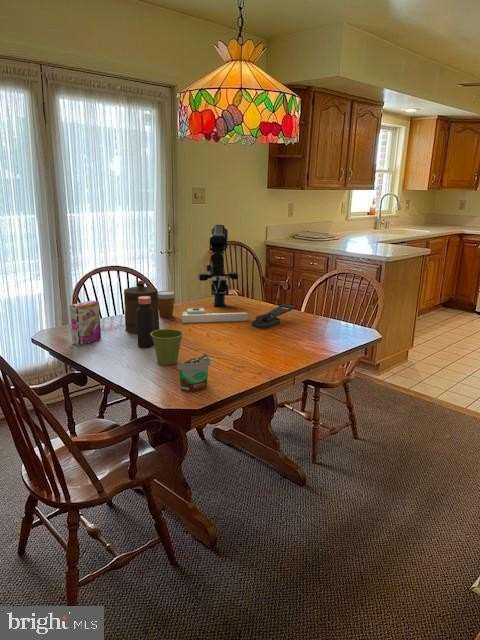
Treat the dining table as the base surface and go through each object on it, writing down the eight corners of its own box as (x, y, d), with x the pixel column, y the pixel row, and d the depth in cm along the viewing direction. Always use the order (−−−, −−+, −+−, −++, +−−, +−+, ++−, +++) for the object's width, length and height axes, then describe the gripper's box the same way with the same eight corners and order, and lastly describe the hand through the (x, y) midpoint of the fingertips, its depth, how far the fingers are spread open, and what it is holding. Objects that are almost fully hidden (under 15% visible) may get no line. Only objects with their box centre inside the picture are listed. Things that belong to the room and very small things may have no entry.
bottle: (134, 347, 193) (132, 298, 188) (143, 342, 199) (141, 294, 194) (149, 349, 191) (147, 300, 185) (158, 344, 197) (156, 296, 191)
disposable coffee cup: (168, 312, 244) (168, 289, 240) (179, 316, 237) (179, 293, 234) (152, 316, 238) (151, 292, 234) (163, 320, 231) (162, 295, 227)
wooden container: (139, 322, 226) (137, 276, 220) (165, 327, 220) (164, 279, 214) (118, 331, 213) (115, 282, 207) (146, 336, 207) (144, 285, 201)
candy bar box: (79, 346, 193) (76, 306, 188) (72, 344, 196) (68, 304, 191) (102, 339, 202) (99, 301, 197) (94, 337, 204) (91, 299, 200)
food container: (190, 397, 149) (190, 367, 146) (177, 391, 153) (176, 362, 150) (218, 385, 158) (218, 357, 155) (205, 380, 162) (205, 352, 159)
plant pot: (186, 366, 174) (186, 336, 171) (153, 369, 170) (152, 339, 167) (181, 355, 185) (180, 327, 181) (149, 358, 181) (148, 329, 178)
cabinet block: (187, 318, 235) (186, 307, 233) (203, 317, 236) (203, 306, 235) (188, 321, 230) (188, 309, 228) (204, 321, 231) (204, 309, 230)
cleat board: (181, 317, 236) (181, 310, 235) (244, 315, 241) (244, 308, 240) (182, 322, 227) (182, 315, 226) (247, 320, 232) (247, 313, 231)
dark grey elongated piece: (297, 306, 234) (264, 316, 216) (296, 319, 236) (263, 330, 218) (282, 303, 239) (249, 312, 222) (281, 316, 241) (248, 326, 223)
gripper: (232, 258, 239) (232, 289, 243) (195, 259, 234) (196, 290, 239) (238, 262, 229) (238, 294, 233) (199, 263, 224) (200, 296, 228)
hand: (217, 293), depth 233 cm, fingers closed
